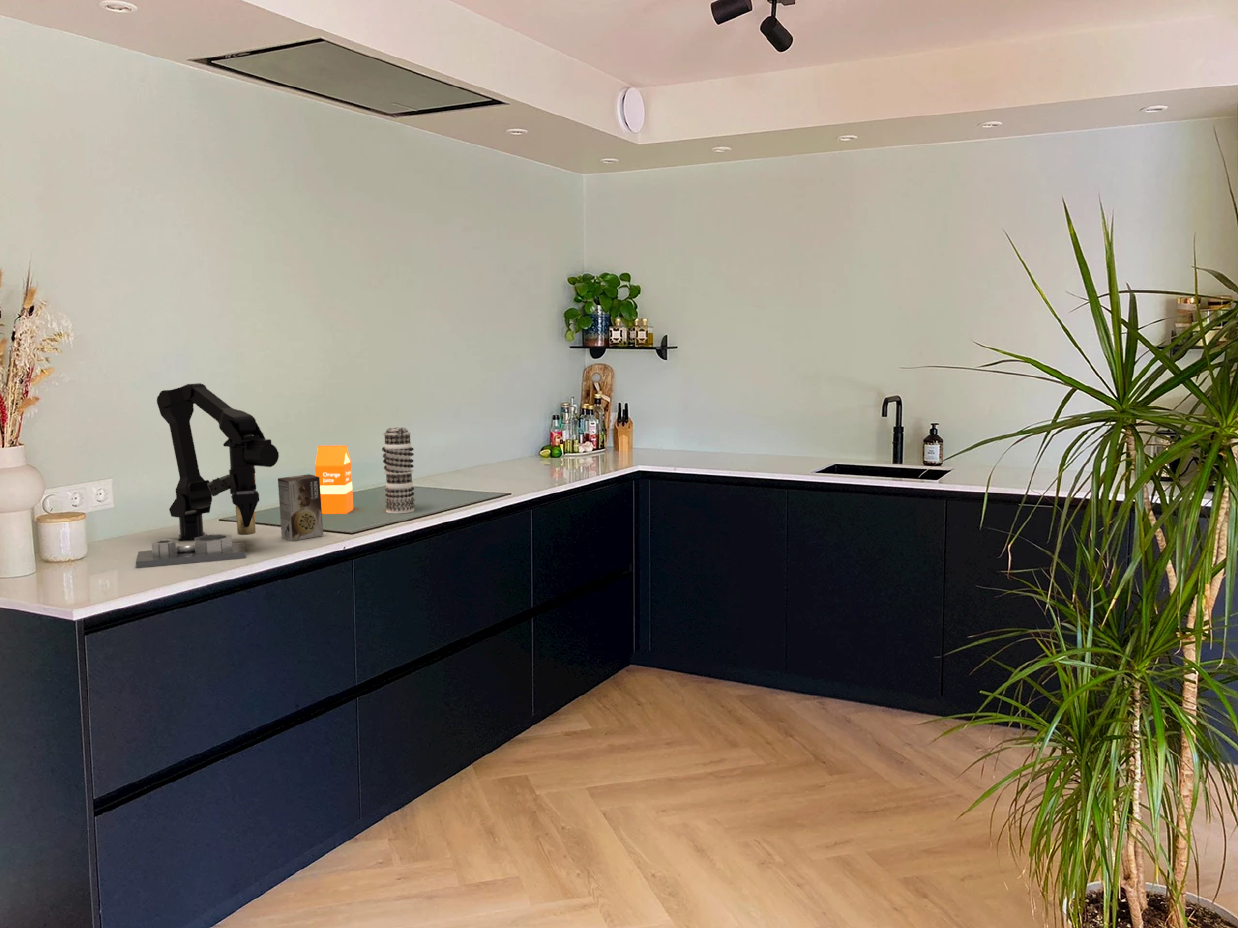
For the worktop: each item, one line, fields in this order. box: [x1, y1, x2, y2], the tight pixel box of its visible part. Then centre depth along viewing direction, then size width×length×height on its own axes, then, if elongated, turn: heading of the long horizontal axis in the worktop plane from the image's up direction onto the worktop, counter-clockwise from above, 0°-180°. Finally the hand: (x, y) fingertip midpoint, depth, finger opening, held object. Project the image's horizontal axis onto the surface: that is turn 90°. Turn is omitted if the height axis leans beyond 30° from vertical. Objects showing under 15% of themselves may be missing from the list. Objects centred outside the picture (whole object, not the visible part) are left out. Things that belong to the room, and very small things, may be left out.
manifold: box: [135, 533, 247, 569], centre depth 247 cm, size 12×24×4 cm, turn 113°
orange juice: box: [314, 445, 354, 515], centre depth 306 cm, size 8×9×20 cm
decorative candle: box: [381, 427, 416, 515], centre depth 305 cm, size 9×9×25 cm
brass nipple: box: [235, 505, 257, 536], centre depth 259 cm, size 4×4×8 cm
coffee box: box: [277, 473, 324, 542], centre depth 269 cm, size 9×6×16 cm
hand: (246, 525), depth 259 cm, fingers closed on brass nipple, 4 cm apart
